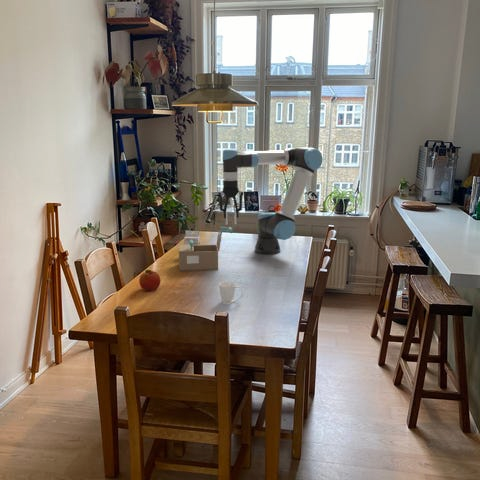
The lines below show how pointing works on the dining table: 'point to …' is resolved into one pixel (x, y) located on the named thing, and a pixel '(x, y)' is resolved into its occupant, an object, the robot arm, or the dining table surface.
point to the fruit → (149, 280)
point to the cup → (228, 292)
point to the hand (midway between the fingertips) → (231, 223)
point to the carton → (199, 258)
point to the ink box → (192, 237)
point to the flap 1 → (187, 247)
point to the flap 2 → (221, 234)
